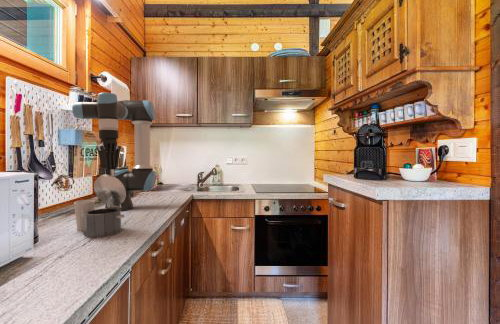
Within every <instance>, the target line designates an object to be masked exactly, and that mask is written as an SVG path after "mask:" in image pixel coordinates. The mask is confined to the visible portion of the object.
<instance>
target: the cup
mask: <svg viewBox="0 0 500 324" xmlns="http://www.w3.org/2000/svg"><path fill="white" fill-rule="evenodd" d="M95 203H96V200H94V199H84V200H77V201H74V202H73V205H74V206H73V207H74V214H75V223H76V230H77V231H82V232H84V217H81V214H83V213H85V212H87V211H90V210H95V208H96V207H95Z"/></svg>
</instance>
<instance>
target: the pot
mask: <svg viewBox="0 0 500 324" xmlns="http://www.w3.org/2000/svg"><path fill="white" fill-rule="evenodd" d="M110 207H117V208H105V207H104V208H96V209H95V208H94V210H90V211H87V212H85V213H83V214H81V217H84V230H83V235H84V237H86V238H90V237H91V239H95V238H96V239H97V237H98V238H104V237H105V238H106V236H107V237H109V236H114V235H117V234H119V233H121V231H122V219H123V218H125V214H121V213H122V211H121V209H120V208H118V206H110Z"/></svg>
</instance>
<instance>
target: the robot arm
mask: <svg viewBox="0 0 500 324" xmlns="http://www.w3.org/2000/svg"><path fill="white" fill-rule="evenodd" d="M71 109H72V110H71V111H72V114H73V116H74V118H75V119H79V120H80V119H82V120H94V119H95V120H97V119H98V129H99V130H98V139H100V144H99V145H96V147H95V149H96V150H97V153H98V157H99V162H100V167H101V169H103V170H105V175H112V176H114V177H116V178H117V179H119V180H120V181H121V182H122V184H123V185H124V187H125V190H126V198H125V200H124V201H123V202H122V203H121V208H120V209H121V212H123V211H128V210H131V209H133V208H134V202H133V200H132V198H131V194H130V192H140V191H141V192H146V191H151V190H153V189H154V187H155V185H156V182H157V181H156V180H157V173H156V170H154V169H153V167H152V166H151V137H150V136H151V132H150V131H151V130H150V129H151V125H153V121H155V120H156V117H157V116H156V110H155V107H154V103H153V102H152V101H150V100H145V99H142V100H141V99H139V100H133V99H132V100H131V99H129V100H127V99H125V100H118V95H117V94H116V93H112V92H99V93H98V94H97V100H96V102H95V101H94V102H93V101H92V102H91V101H90V102H89V101H87V102H86V101H78V102H74V103H73V105H72V108H71ZM121 120H124V121H131V124H133V125H134V165H133V167H131V171H130V169H129V168H127V169H121V170H120V169H119V170H117V169H118V168H119V161H120V153H121V150H122V146H121V145H118V142H117V141H118V139H119V137H120V135H119V121H121ZM117 206H118V205H117ZM104 208H108V207H107V204H105V206H104ZM110 208H117V207H110ZM118 208H119V207H118Z"/></svg>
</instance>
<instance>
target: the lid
mask: <svg viewBox="0 0 500 324" xmlns="http://www.w3.org/2000/svg"><path fill="white" fill-rule="evenodd" d="M93 189H94V193H95V195H96V197H97V198H98V199H99V200H100V201H101V202H102V203H103V204H105V205H106V204H107V207H108V208H110V206H117V205H118V207H119V208H121V203H122V202H123V201H124V200H125V198H126V190H125V187H124V185H123V184H122V182H121V181H120V180H119V179H117V178H116V177H114V176H112V175H106V174H102V175H99V176H98V177H97V178H96V179H95V180H94V183H93Z"/></svg>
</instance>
